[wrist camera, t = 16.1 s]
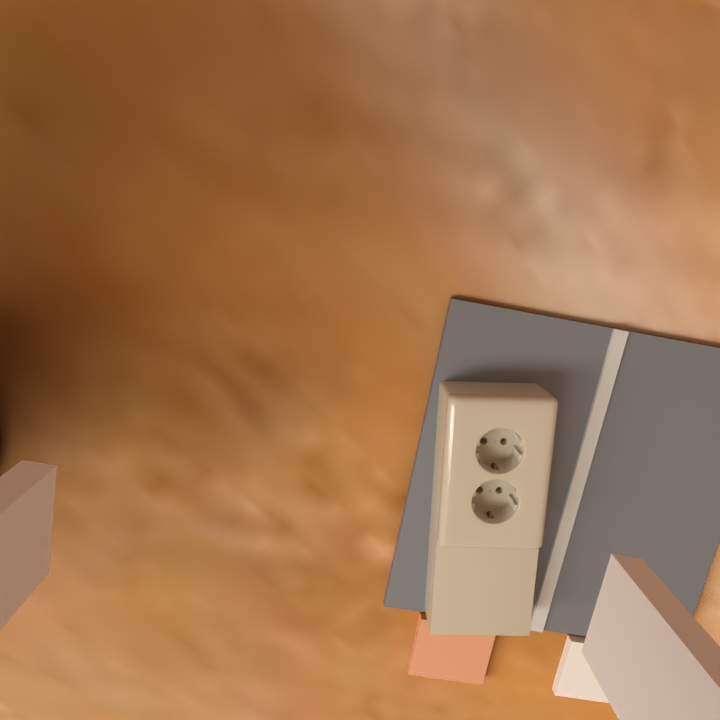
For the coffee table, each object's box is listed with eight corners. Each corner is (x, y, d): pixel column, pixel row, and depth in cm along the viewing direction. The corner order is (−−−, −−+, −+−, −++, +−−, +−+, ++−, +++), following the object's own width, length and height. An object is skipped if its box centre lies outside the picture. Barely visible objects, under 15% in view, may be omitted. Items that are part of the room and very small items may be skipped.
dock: (370, 661, 48) (370, 670, 47) (450, 297, 42) (452, 299, 41) (657, 702, 50) (663, 711, 49) (776, 357, 43) (785, 360, 42)
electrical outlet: (432, 643, 42) (449, 397, 38) (424, 607, 46) (439, 380, 42) (533, 644, 43) (560, 399, 39) (517, 608, 47) (540, 383, 43)
